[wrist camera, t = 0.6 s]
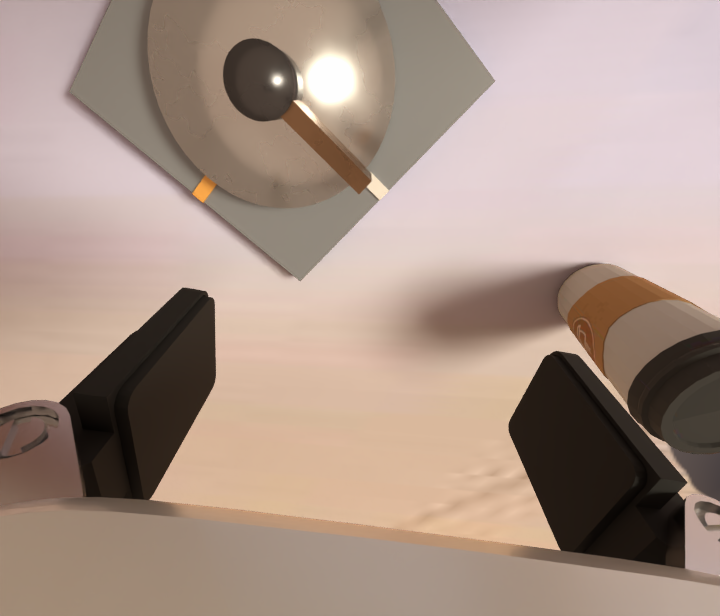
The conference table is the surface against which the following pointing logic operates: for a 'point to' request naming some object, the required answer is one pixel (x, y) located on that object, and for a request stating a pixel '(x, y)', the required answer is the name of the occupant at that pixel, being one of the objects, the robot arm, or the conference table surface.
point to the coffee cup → (650, 352)
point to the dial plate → (339, 213)
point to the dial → (275, 92)
